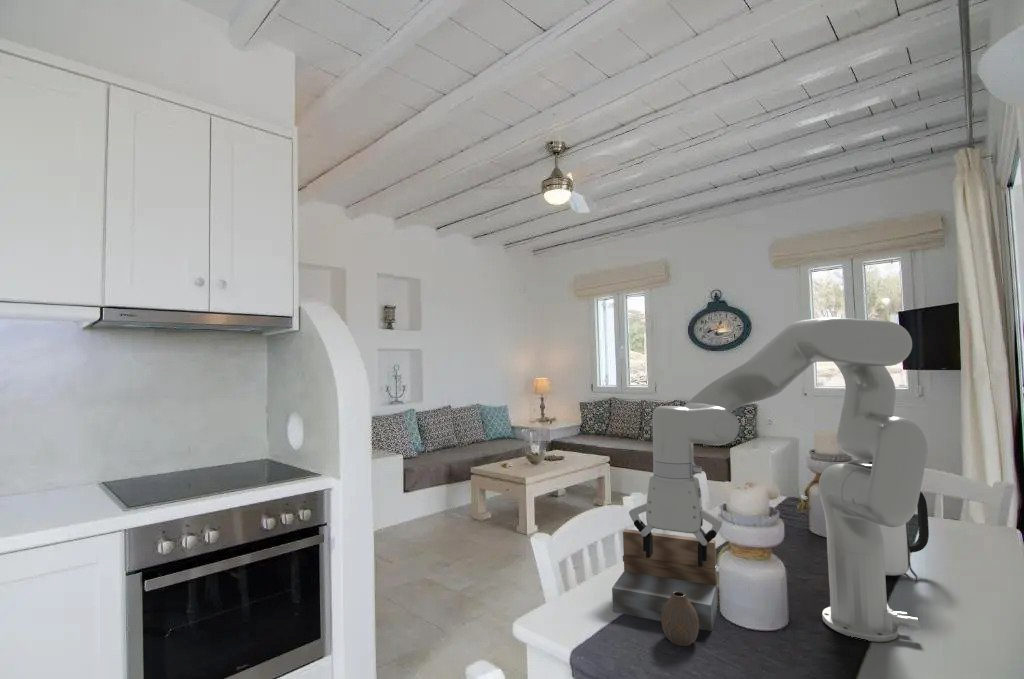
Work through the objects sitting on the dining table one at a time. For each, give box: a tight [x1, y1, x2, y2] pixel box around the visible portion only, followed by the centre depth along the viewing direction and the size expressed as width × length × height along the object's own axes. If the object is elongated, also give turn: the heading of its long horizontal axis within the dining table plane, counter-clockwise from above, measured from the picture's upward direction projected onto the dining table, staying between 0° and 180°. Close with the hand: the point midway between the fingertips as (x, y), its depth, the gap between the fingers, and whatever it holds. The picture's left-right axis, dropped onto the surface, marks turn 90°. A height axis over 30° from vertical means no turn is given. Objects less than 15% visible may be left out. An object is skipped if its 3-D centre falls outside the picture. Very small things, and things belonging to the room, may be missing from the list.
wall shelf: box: [611, 528, 719, 632], centre depth 112 cm, size 20×12×14 cm, turn 63°
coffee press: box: [846, 459, 930, 582], centre depth 129 cm, size 17×16×30 cm
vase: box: [660, 591, 700, 647], centre depth 99 cm, size 7×7×9 cm
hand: (674, 559), depth 100 cm, fingers open, 9 cm apart
